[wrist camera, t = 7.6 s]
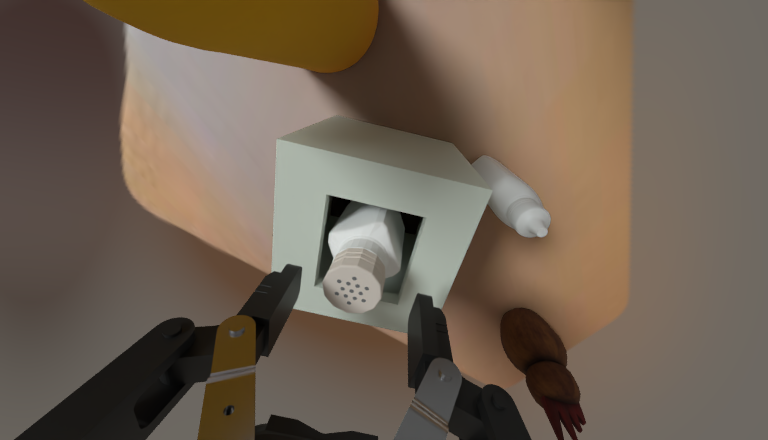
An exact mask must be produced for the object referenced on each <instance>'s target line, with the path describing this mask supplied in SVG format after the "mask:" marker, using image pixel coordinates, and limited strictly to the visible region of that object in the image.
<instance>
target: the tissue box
mask: <svg viewBox="0 0 768 440" xmlns="http://www.w3.org/2000/svg"><path fill="white" fill-rule="evenodd" d="M492 191H493V190H492V189H491V188H490V186H489V185H488V184H487V183H486V182H485V181H484V179H483V178H482V177H481V176H480V175H479V174H478V172H477V171H476V170H475V169H474V168H473V166H472V165H471V164H470V163H469V162H468V161H467V159H466V158H465V157H464V156H463V155H462V154H461V152H460V151H459V150H458V149H457V148H456V147H455V145H454V144H453V143H449V142H445V141H441V140H437V139H433V138H429V137H425V136H421V135H417V134H412V133H408V132H404V131H400V130H396V129H392V128H388V127H384V126H380V125H375V124H371V123H367V122H363V121H359V120H355V119H351V118H347V117H343V116H339V115H336V116H333V117H331V118H328V119H326V120H323V121H321V122H318V123H315V124H313V125H310V126H308V127H305V128H303V129H300V130H298V131H295V132H293V133H290V134H288V135H285V136H283V137H280V138H278V139H277V147H276V173H275V198H274V223H273V248H272V272H273V271H276V272H282V270H283V269H284V267H285V266H286V264H292V265H297V266H301V267H302V276H301V286H300V292H299V296H298V299H297V301H296V303H295V305H294V307H293V309H298V310H303V311H308V312H312V313H316V314H321V315H326V316H330V317H335V318H340V319H344V320H349V321H353V322H358V323H362V324H368V325H371V326H376V327H381V328H385V329H390V330H394V331H399V332H404V333H408V318H409V314H410V311H411V309H412V306H413V303H414V300H415V298H416V295H417V293H420V294H425V295H429V296H432V299H433V307H437V308H440V309H442V307H443V305H444V303H445V300H446V298H447V296H448V293H449V291H450V289H451V286H452V284H453V282H454V279H455V277H456V275H457V272H458V270H459V268H460V265H461V263H462V261H463V258H464V256H465V254H466V252H467V249H468V247H469V245H470V242H471V240H472V238H473V235H474V233H475V231H476V228H477V226H478V224H479V221H480V219H481V217H482V214H483V212H484V210H485V207H486V205H487V203H488V201H489V198H490V196H491V194H492ZM333 196H335V197H340V198H344V199H348V200H353V201H357V202H361V203H365V204H370V205H374V206H378V207H383V208H387V209H391V210H395V211H400V212H404V213H408V214H413V215H417V216H421V219H420V222H419V225H418V228H417V231H416V235H414V234H409V233H405V232H404V241H403V249H402V258H401V267H400V271H399V272H398V273H397V274H395V275H394V276H392V277H388V278H386V279H385V283H384V288H383V295H382V298H381V300H380V301H379V303H378V304H377V306H376V307H375V308H374V309H372V310H369V311H367V312H364V313H362V314H360V313H346V312H344V311H342V310H340V309H338V308H336V307H334V306H333V305H332V304H331V303H330V302H329V300H328V299H327V298H326V297H325V296H324V290H323V284H322V282H323V280H324V278H325V276H326V274H327V272H328V270H329V268H330V266H331V264H332V261H333V255H332V253H331V249H330V246H329V243H328V239H329V233H330V232H331V230H332V228H333V227H334V225H335V224H336V222H337V221H338V219H339V218H340V217H336V216H331V215H330V214H331V207H332V200H333Z"/></svg>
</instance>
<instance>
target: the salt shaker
mask: <svg viewBox="0 0 768 440" xmlns="http://www.w3.org/2000/svg"><path fill="white" fill-rule="evenodd" d="M404 232H405V227H404V224H403V221H402V218H401V214H400V211H395V210H391V209H387V208H383V207H378V206H374V205H370V204H365V203H361V202H357V201H351V202H350V203H349V204H348V205H347V207H346V208H345V210H344V211H343V213H342V215H341V216H340V218H339V219H338V221H337V222H336V224H335V225H334V227H333V228H332V230H331V232H330V233H329V239H328V243H329V246H330V249H331V253H332V255H333V261H332V264H331V266H330V268H329V270H328V272H327V274H326V276H325V278H324V280H323V282H322V284H323V290H324V296H325V297H326V298H327V299H328V300H329V302H330V303H331V304H332V305H333V306H334V307H336V308H338V309H340V310H342V311H344V312H346V313H360V314H362V313H364V312H367V311H369V310H372V309H374V308H375V307H376V306H377V304H378V303H379V301H380V300H381V298H382V295H383V288H384V283H385V279H386V278H388V277H392V276H394V275H395V274H397V273H398V272H399V271H400V267H401V258H402V249H403V241H404Z"/></svg>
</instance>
